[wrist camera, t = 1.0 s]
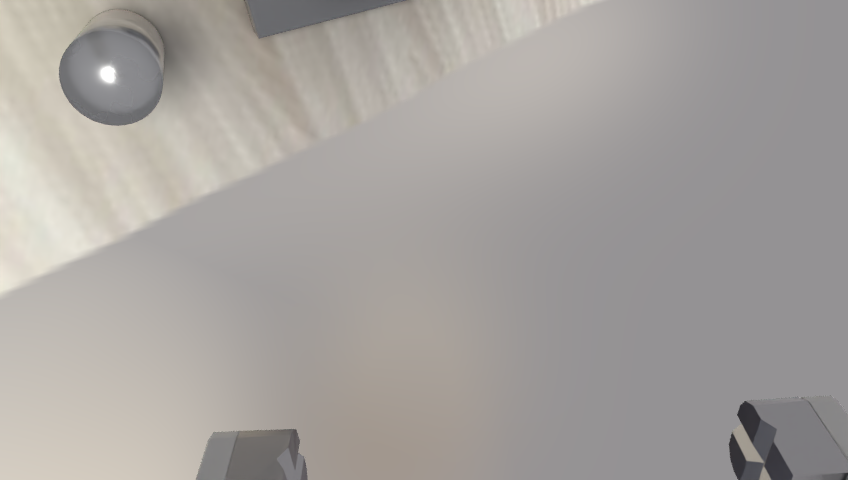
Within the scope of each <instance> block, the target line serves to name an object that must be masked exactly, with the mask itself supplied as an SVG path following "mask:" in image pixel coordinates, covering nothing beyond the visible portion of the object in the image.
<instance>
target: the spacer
mask: <svg viewBox="0 0 848 480" xmlns="http://www.w3.org/2000/svg"><path fill="white" fill-rule="evenodd" d="M163 71H164V45H163V41H162V38H161V36H160V34H159V33H158V31H157V29H156V28H155V27H154V26H153V25H152V24H151V23H150V22H149V21H148V20H147V19H146V18H144V17H143V16H141V15H139V14H137V13H135V12H132V11H128V10H122V9H113V10H108V11H104V12H102V13H100V14H98V15H96V16H95V17H94V18H93V19H91V20H90V22H89V23H88V24H87V25H86V26H85V27H84V29H83V30H82V31H81V32H80V33H79V35H78V36H77V37H76V38H75V39H74V41H73V42H72V43H71V44H70V45H69V47H68V48H67V49H66V51H65V52H64V54H63V56H62V59H61V62H60V67H59V78H60V83H61V87H62V89H63V92H64V94H65V96H66V98H67V99H68V100H69V102H70V103H71V104H72V105H73V107H74V108H75V109H76V110H78V111H79V112H80V113H81V114H83V115H84V116H86V117H87V118H89V119H91V120H93V121H96V122H99V123H102V124H107V125H118V126H119V125H127V124H132V123H134V122H137V121H139V120H141V119H143V118H144V117H146V116H147V115H148V114H150V113H151V112H152V111H153V109H154V108H155V107H156V105H157V104H158V102H159V99H160V97H161V93H162V87H163Z"/></svg>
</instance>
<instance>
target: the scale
mask: <svg viewBox="0 0 848 480" xmlns="http://www.w3.org/2000/svg"><path fill="white" fill-rule="evenodd" d="M244 1H245V4H246V7H247V10H248V14H249V17H250V20H251V23H252V27H253V30H254V32H255V34H256V35H257V36H258V38H263V37H267V36H270V35H274V34H278V33H282V32H286V31H290V30H294V29H297V28H301V27H305V26H309V25H313V24H317V23H321V22H324V21H328V20H332V19H336V18H340V17H344V16H348V15H351V14H355V13H359V12H363V11H367V10H371V9H375V8H378V7H382V6H386V5H390V4H394V3H398V2H402V1H405V0H244Z"/></svg>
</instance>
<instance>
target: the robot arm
mask: <svg viewBox="0 0 848 480" xmlns="http://www.w3.org/2000/svg"><path fill="white" fill-rule="evenodd" d="M737 416H738V417H739V419H740V421H741V423H742V424H741V425H739V426H738V427H737V428H736V429H734V430H733V431H732V434H731V438H730V442H729V450H730V460H731V463H732V467H733V470H734V472H735V475H736V476H737V479H738V480H848V414H847V413H846V412H845V410H844V409H843V407H842V406H841V405H840V403H839V402H838V401H837V400H836V399H835V398H833V397H832V396H816V397H801V398H799V397H792V398H778V399H764V400H751V401H744V403H742V404H741V405H740V408H739V411H738V414H737ZM299 444H300V440H299V437H298V433H297V430H296V429H284V430H254V431H233V432H232V431H231V432H214V433H213V434H212V436H211V437H210V438H209V440H208V443H207V445H206V449H205V452H204V455H203V459H202V462H201V465H200V468H199V471H198V474H197V478H196V480H307V468H306V463H305V459H304V456H302V455H301V454H299V453H298V449H299Z"/></svg>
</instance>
